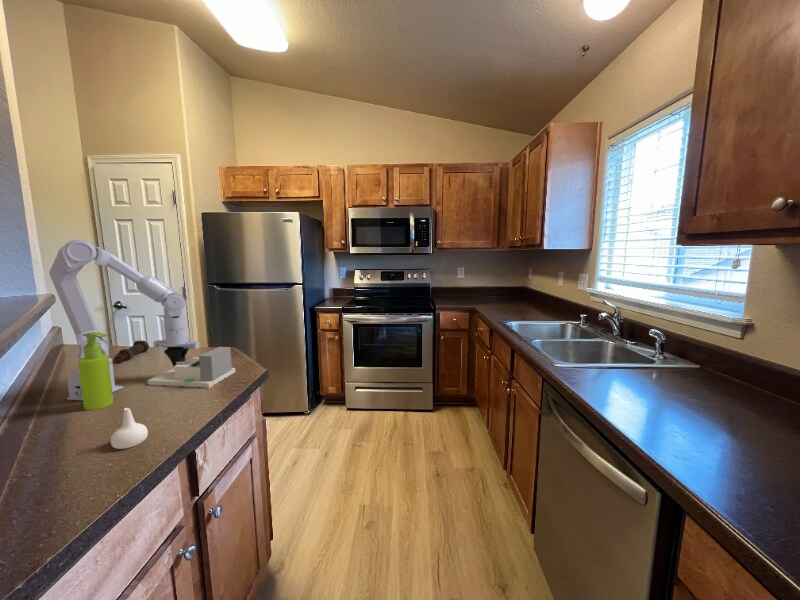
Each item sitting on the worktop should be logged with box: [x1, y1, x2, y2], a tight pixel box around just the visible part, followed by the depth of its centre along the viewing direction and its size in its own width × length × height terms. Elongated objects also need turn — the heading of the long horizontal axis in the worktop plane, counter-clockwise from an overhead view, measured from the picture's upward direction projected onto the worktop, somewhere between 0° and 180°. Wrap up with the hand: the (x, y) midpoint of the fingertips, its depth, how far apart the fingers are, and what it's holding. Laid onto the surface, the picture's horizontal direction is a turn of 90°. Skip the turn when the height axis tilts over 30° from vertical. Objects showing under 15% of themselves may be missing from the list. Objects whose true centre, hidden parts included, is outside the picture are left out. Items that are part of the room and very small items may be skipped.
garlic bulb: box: [110, 407, 149, 450], centre depth 71 cm, size 6×6×8 cm
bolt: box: [113, 340, 150, 364], centre depth 127 cm, size 6×5×15 cm
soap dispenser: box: [77, 331, 114, 411], centre depth 86 cm, size 6×7×20 cm
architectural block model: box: [147, 346, 236, 389], centre depth 107 cm, size 20×14×10 cm
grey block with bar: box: [176, 356, 200, 366], centre depth 107 cm, size 8×9×5 cm
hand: (178, 368), depth 108 cm, fingers closed
